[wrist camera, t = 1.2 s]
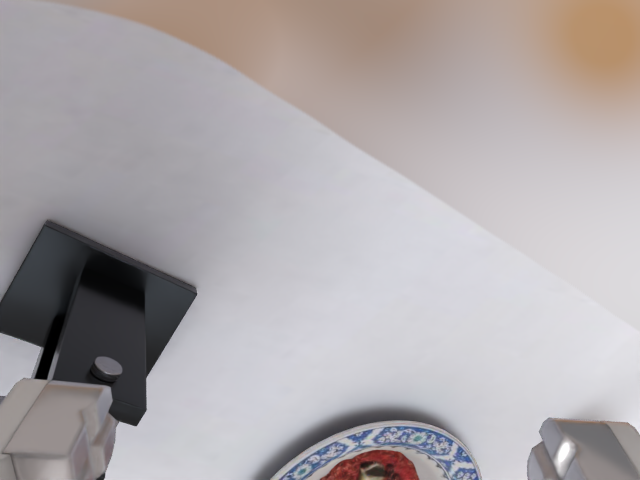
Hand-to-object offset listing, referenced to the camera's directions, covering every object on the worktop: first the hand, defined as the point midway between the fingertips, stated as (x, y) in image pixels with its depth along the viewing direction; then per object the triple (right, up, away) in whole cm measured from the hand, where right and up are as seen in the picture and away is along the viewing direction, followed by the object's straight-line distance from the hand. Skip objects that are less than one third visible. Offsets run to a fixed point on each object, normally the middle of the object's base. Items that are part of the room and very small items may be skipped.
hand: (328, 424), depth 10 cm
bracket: (-16, -1, +27) cm, 32 cm away
